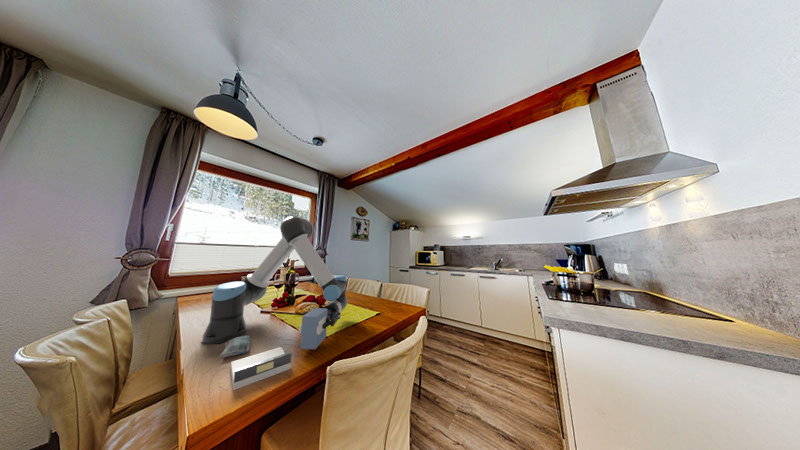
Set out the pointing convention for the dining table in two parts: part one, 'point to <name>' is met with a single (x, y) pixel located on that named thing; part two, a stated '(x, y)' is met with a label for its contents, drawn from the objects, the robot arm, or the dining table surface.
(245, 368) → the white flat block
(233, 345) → the packaged food
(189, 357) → the dining table surface
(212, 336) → the robot arm
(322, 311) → the carton
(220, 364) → the dining table surface
